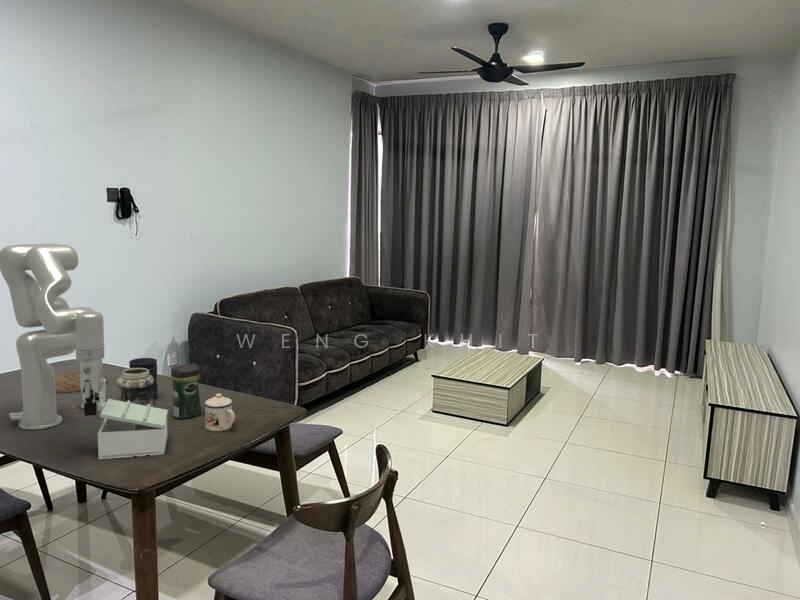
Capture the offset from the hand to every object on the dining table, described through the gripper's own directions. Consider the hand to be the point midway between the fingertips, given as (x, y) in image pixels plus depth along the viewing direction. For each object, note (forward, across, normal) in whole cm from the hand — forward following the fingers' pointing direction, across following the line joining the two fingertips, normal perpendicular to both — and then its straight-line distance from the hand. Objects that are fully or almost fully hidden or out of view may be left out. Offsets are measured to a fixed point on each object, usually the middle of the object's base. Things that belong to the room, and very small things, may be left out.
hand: (92, 411), depth 182 cm
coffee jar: (+13, +27, -25) cm, 39 cm away
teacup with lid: (+12, +12, -38) cm, 41 cm away
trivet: (+13, +72, +20) cm, 76 cm away
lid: (+1, 0, -9) cm, 9 cm away
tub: (+12, 0, -12) cm, 17 cm away
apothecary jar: (+13, +24, -9) cm, 29 cm away
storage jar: (+13, +48, -9) cm, 51 cm away
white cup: (+13, +41, +7) cm, 43 cm away
